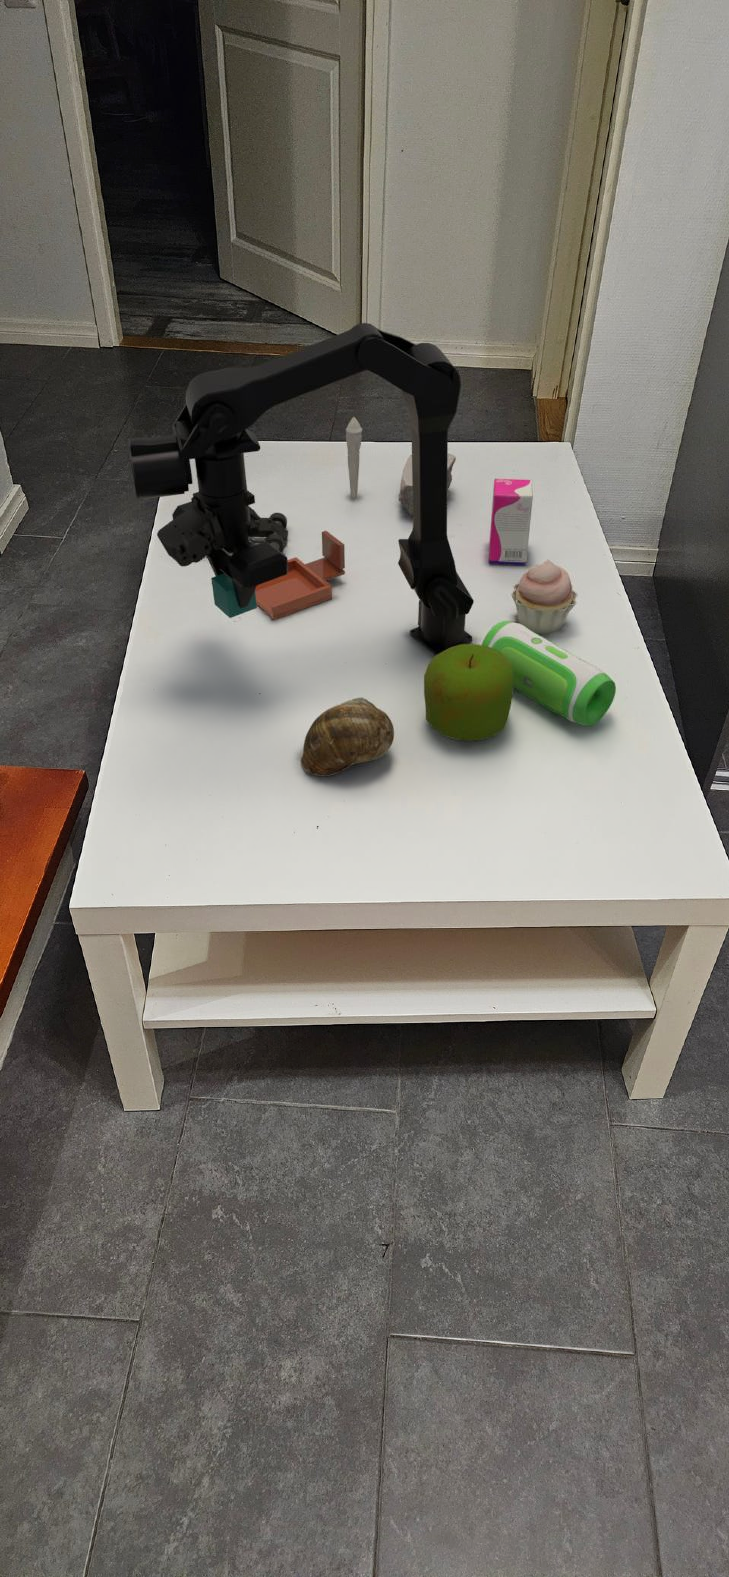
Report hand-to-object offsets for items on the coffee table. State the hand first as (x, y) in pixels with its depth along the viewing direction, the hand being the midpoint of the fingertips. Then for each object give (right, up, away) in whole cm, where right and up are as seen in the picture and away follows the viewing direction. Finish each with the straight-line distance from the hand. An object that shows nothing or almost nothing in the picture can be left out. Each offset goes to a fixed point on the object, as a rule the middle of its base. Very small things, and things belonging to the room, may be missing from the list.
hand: (235, 599), depth 138 cm
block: (0, -1, +1) cm, 1 cm away
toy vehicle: (-3, +15, +32) cm, 35 cm away
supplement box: (+39, +12, +29) cm, 50 cm away
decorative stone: (+27, +23, +42) cm, 55 cm away
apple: (+29, -16, -2) cm, 34 cm away
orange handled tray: (+7, +5, +22) cm, 23 cm away
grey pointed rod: (+15, +24, +43) cm, 51 cm away
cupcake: (+42, -1, +15) cm, 44 cm away
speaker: (+40, -12, +3) cm, 42 cm away
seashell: (+14, -21, -7) cm, 26 cm away
